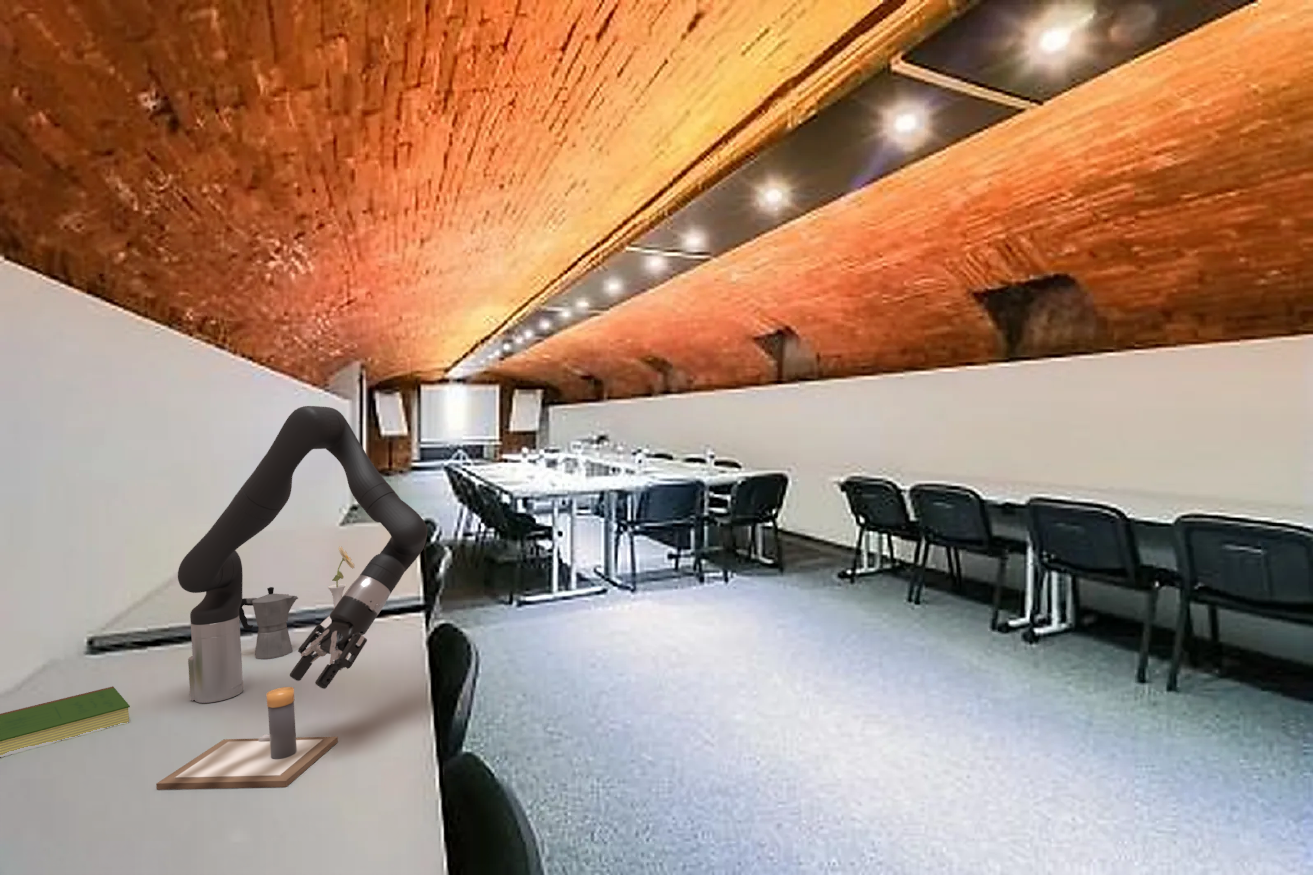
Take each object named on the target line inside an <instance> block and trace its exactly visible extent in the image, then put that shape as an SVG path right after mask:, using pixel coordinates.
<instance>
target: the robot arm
mask: <svg viewBox="0 0 1313 875" xmlns="http://www.w3.org/2000/svg"><path fill="white" fill-rule="evenodd" d="M324 449H325V450H327V451H328V453H330V454H331V455H332V456H334V458H335V459H337V461H338V462H339V463H340V465H341V466H342V468H343V470H344V471H343V472H344V473H345V476H346V480H347V484H348V485H347V486H348V487H349V490H350V493H351V494H352V496H353V498H354V499H355V501H356V502H357V503H358V504H359V505H360V507H361V508H362V509H363V510H364V512H365V513H366V514H367V516H369V517H370V519H372V520H373V521H374V522H375V523H380V524H381V526H382V527H384V529H385V530H386V531H387V532H388V533H389V535H390V539H389V540H388V541H387V543H386V544H385V546H384V547H383V549H381V551H380V552H379V553H378V554H376V555H374V556H373V557H372V558H371V559H370V561H369V562H368V563H367V564H366V565H365V567H364V569H363V570H362V572H361V573H360V574H359V575H358V577H357V578H356V579H355V580H354V581H353V582H352V583H351V585H350V586H349V587H348V589H347V590H346V592H344V594H342V598H341V600H340V601H339V602H338V604H337V605H336V607H335V608H334V607H333V610H332V611H331V612H330V614H329V616H330V618H331V620H332V622H331V624H330V625H329V626H328V627H327V628H324V627H323V626H322V625H320V624H321V623H320V624H316V626H315V627H314V629H313V630H312V631H311V633H310V634H308V636H307V637H306V639H305V640H304V641H303V643H302V644H301V645H300V647H299V648H298V650H297V652H298V653H299V654H300V656H301V657H300V659H299V661H298V662H297V663H296V665H295V666H294V667H293V669H292V670H291V671H290V673H289V676H290V678H291V679H293V680H295V681H297V682H299V681H301V680H302V679H303V678H304V676H305V675H306V673H307V672H308V671H309V669H310V668H311V666H312V665H313V662H315V661H317V659H319V658H321V657H325V656H326V655H328V654H329V655H330V658H329V664H326V666H325V667H324V669H323V670H322V672H321V673H320V674H319V675H318V677H317V679H316V680H315V685H316V686H318V687H319V688H320V689H322V690H325V689H327V688H328V686H329V685H330V684H331V682H332V681H333V680H334V678H335V677H336V675H337V674H338V672H339V671H342V670H343V669H347V670H348V669H350V668H351V667H352V665H354V662H355V661H356V659H357V658H358V656H359V655H360V653H361V651H362V650H363V648H364V647H365V645H366V644H367V642H368V639H367V638H366V637H365V636H364V635H365V634H366V633H367V632H368V630H369V629H370V628H371V626H372V624H373V623H374V621H375V620H376V619H377V617H378V616H379V614H380V612H381V611H382V610H383V608H384V606H385V605H386V603H387V601H388V599H389V597H390V595H391V594H392V592H393V591H394V590H395V588H396V587H397V585H398V584H399V582H400V581H401V579H402V577H403V575H404V573H405V572H406V571H407V570H408V569H409V568H410V567H411V566H412V565H413V563H414V562H415V561H416V560H417V559H418V557H419V556H420V554H421V552H422V551H423V550H424V548H425V545H426V542H427V537H428V527H427V523H426V522H425V520H424V519H423V518H422V516H421V515H420V514H419V513H418V512H417V511H416V510H414V509H413V507H411V506H410V505H409V504H408V503H406V502H405V501H403V499H401V498H400V496H399V495H398V494H397V493H396V491H395V490H394V489H393V487H391V485H390V484H389V483H388V482H387V481H386V479H385V478H384V477H383V475H381V473H380V472H379V471H378V469H377V468H376V467H375V465H374V463H373V462H372V461H371V459H370V457H369V456H368V454H367V453H366V451H365V450H364V448H363V446H362V444H361V443H360V441H359V439H358V438H357V435H356V434H355V433H354V430H353V429H352V428H351V425H350V423H349V422H348V420H347V419H346V418H345V416H344V415H343V413H342V412H340V411H339V410H338V409H335V408H333V407H330V406H329V407H328V406H319V405H318V406H317V405H305V406H304V405H303V406H301V407H298V408H296V409H294V410H293V411H292V412H291V413H290V415H289V416H288V417H287V418H286V420H285V421H284V423H283V425H282V427H281V428H280V430H279V432H278V433H277V436H276V437H275V439H274V440H273V442H272V444H271V445H270V448H269V449H268V451H267V452H266V454H265V455H264V456H263V458H262V459H261V461H260V462H259V463H258V465H257V466H256V467H255V469H254V471H253V472H252V473H251V475H249V477H248V478H247V480H245V481H244V483H243V485H242V486H241V487H240V488H239V490H238V492H237V493H236V494H235V495H234V497H233V498H232V500H231V501H230V503H229V504H228V506H227V507H226V508H225V509H224V511H223V512H222V513H221V515H220V516H218V519H216V521H215V522H214V524H213V525H212V526H211V528H210V529H209V530H208V531H207V532H206V533H205V535H204V536H203V537H202V538H200V540H199V541H198V542H197V543H196V544H195V545H194V546H193V547H192V548H191V549H190V551H189V552H188V553H186V555H185V556H184V557H183V558H182V561H181V562H180V564H179V567H178V569H177V581H178V584H179V586H180V587H181V588H182V589H183V590H185V591H186V592H188V593H193V594H198V593H205V595H204V598H203V599H202V600H201V601H200V602H199V603H198V604H196V606H194V607H193V608H192V610H191V611H190V613H189V614H190V616H189V617H190V632H191V633H190V635H191V649H192V650H191V651H192V652H191V653H192V655H191V656H190V657H188V659H187V660H188V661H187V664H188V680H189V682H188V683H189V700H192V702H193V700H195V701H194V702H196V703H200V704H202V703H203V704H208V703H215V702H216V703H217V702H220V701H224V700H228V699H232V698H233V697H236V696H239V695H240V694H242V693H243V691H244V680H243V676H244V675H243V660H242V658H243V656H242V641H241V624H240V623H241V621H240V619H239V608H240V605H241V603H242V599H243V564H242V559H241V557H240V555H239V553H238V552H237V551H236V550H238V548H239V547H241V546H242V545H244V544H245V543H247V542H249V540H251V539H252V538H253V537H255V536H257V535H258V534H259V533H260V532H262V531H264V529H265V528H267V527H268V526H269V525H270V524H271V523H273V521H274V520H275V518H276V517H277V516H278V515H279V514H280V512H281V511H282V510H283V508H284V507H285V506H286V505H287V503H288V501H289V500H290V497H291V493H292V486H293V477H294V476H293V475H294V473H295V470H296V469H297V468H298V466H299V465H300V463H301V462H302V461H303V460H304V458H305V457H307V455H308V454H309V453H310V452H311V451H312V450H324ZM309 645H310V646H309ZM308 646H309V647H308ZM349 654H350V656H349Z"/></svg>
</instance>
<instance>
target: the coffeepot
mask: <svg viewBox="0 0 1313 875" xmlns="http://www.w3.org/2000/svg"><path fill="white" fill-rule="evenodd" d="M274 589H275V588H274V587H273V586H269V587H267V594H265V595H262V596H260V597H248V598H247V597H246V598H242V603H241V605H240V608H239V621H240V623H241V625H242V627H243V629H244V630H252V629H253V627H254V624H251V625H250V624H248V618H247V617H246V615H245V611H244V608H243V607H244V606H247V607H248V606H253V607H252V608H253V612H254V616H255V621H256V625H257V626H258V627H257V628H258V631H257V636H256V644H255V650H254V651H255V652H254V656H255V658H256V659H257V660H271V659H272V660H273V659H277V658H281V657H285V656H287V655H289V654H292V653H293V647H292V642H291V637H290V634H289V629H288V627H287V626H288V624H287V622H288V621H289V613H290V611H291V609H292V607H293V605H294V603H295V602H296V601H297V600H299V597H298V596H297V595H289V594H288V593H287V594H286V593H274V592H275V591H274ZM284 655H285V656H284Z"/></svg>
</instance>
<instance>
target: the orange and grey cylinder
mask: <svg viewBox="0 0 1313 875" xmlns="http://www.w3.org/2000/svg"><path fill="white" fill-rule="evenodd" d="M266 706H267V712H268V714H267V716H268V729H269V731H268V732H269V734H270V750H271V758H272V759H283V758H287V757H289V756H292V755H293V754H295V753H296V752H297V746H296V738H297V734H296V733H297V732H296V719H295V718H296V716H295V714H296V713H295V689H294V687H292V686H283V687H278V688H274V689H272V690H269V691H267V692H266Z"/></svg>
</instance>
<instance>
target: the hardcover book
mask: <svg viewBox="0 0 1313 875" xmlns="http://www.w3.org/2000/svg"><path fill="white" fill-rule="evenodd" d="M130 706H131V705H130V704H129V703H128V702H127V700H126V699H124V697H123V695H121V694H120V692H119V691H118V690H117V688H115V686H113V685H112V686H108V687H105V688H101V689H96V690H93V691H90V692H89V691H88V692H85V693H79V694H76V695H72V696H67V697H64V698H59V699H55V700H50V701H47V702H42V703H39V704H34V705H30V706H26V707H22V708H19V709H14V710H10V711H5V712H2V713H0V755H3V754H5V753H7V752H9V751H14V750H17V749H20V748H24V747H28V746H35V745H39V744H42V743H46V742H53V741H57V740H62V739H65V738H69V737H75V736H78V735H80V734H83V733H86V732H91V731H93V730H97V729H100V728H107V727H110V726H114V725H118V724H120V723H126V724H128V723H127V722H129V723H130V717H129V716H130V712H129V708H131V707H130ZM75 738H76V737H75Z"/></svg>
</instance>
